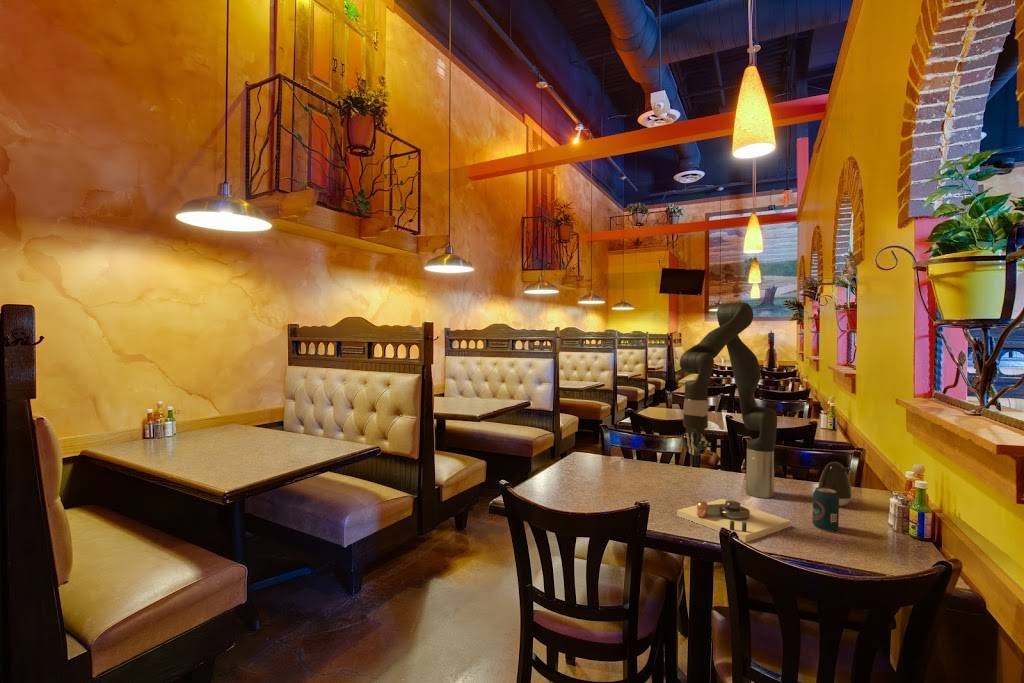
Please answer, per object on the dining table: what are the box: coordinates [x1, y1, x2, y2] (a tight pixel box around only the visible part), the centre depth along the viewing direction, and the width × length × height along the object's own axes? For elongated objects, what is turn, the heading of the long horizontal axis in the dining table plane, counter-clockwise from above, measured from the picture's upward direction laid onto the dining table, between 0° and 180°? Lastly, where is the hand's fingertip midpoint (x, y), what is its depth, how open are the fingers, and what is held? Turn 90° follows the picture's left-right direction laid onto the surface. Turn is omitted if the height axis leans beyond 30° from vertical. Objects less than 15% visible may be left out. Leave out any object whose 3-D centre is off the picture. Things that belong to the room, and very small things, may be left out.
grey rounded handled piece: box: [696, 500, 750, 519], centre depth 158 cm, size 18×10×4 cm, turn 102°
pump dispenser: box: [817, 461, 853, 507], centre depth 178 cm, size 10×10×15 cm
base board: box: [676, 498, 791, 543], centre depth 158 cm, size 24×24×4 cm
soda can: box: [811, 486, 840, 532], centre depth 154 cm, size 7×7×12 cm
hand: (694, 465), depth 161 cm, fingers closed
